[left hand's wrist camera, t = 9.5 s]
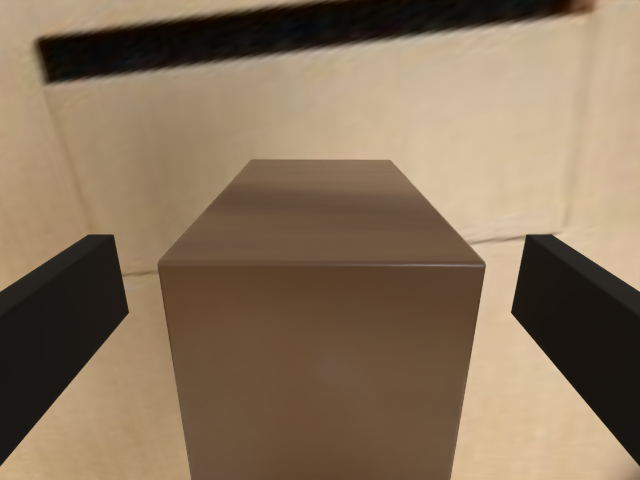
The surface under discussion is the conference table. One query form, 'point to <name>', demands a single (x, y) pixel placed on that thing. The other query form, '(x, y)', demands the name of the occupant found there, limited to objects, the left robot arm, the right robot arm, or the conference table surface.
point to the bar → (321, 326)
